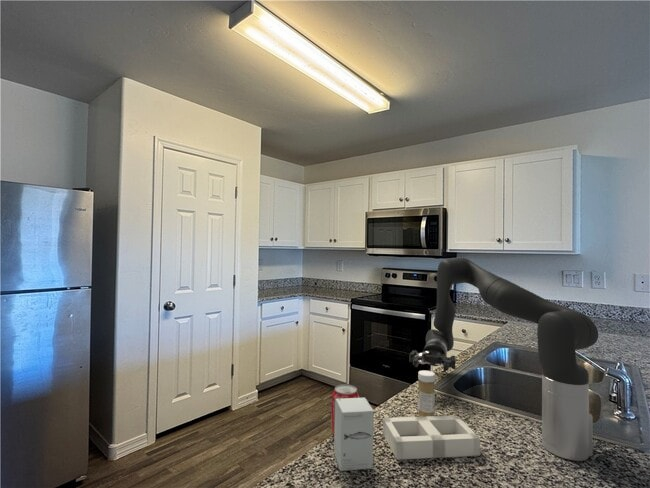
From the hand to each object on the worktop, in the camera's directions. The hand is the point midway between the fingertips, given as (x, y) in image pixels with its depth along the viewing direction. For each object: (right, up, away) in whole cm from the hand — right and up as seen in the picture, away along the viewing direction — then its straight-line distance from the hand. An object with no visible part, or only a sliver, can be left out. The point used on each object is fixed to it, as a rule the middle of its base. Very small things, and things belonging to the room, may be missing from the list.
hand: (430, 366), depth 104 cm
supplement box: (-26, -11, -28) cm, 40 cm away
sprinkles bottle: (-4, -12, -10) cm, 16 cm away
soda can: (-27, -11, -18) cm, 35 cm away
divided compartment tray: (-7, -11, -21) cm, 25 cm away
